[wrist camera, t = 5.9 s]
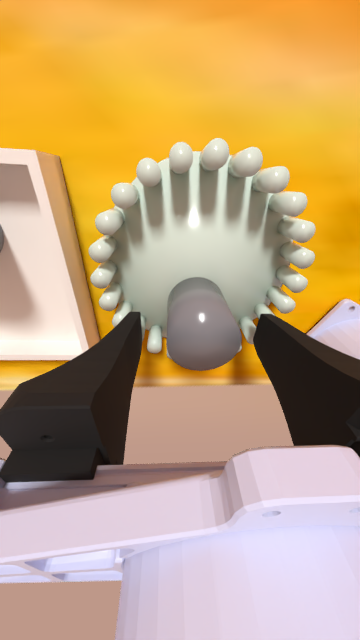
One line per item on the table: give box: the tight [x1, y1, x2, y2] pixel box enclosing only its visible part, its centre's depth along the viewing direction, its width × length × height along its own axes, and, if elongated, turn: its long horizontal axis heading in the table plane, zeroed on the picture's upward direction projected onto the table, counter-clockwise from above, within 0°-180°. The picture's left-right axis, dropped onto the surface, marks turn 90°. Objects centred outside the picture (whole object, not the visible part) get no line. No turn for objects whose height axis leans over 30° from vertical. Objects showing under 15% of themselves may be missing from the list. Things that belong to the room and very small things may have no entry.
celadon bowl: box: [89, 138, 315, 359], centre depth 13 cm, size 12×12×3 cm
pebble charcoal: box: [167, 277, 242, 371], centre depth 13 cm, size 4×4×4 cm
